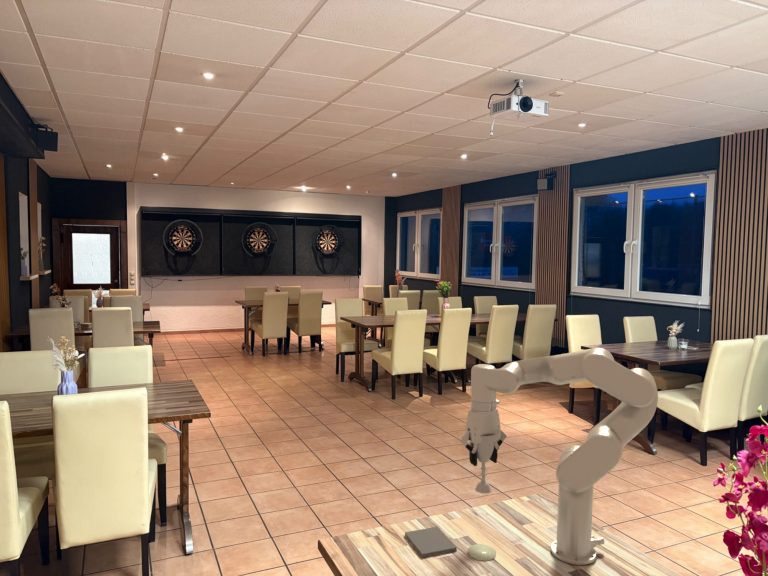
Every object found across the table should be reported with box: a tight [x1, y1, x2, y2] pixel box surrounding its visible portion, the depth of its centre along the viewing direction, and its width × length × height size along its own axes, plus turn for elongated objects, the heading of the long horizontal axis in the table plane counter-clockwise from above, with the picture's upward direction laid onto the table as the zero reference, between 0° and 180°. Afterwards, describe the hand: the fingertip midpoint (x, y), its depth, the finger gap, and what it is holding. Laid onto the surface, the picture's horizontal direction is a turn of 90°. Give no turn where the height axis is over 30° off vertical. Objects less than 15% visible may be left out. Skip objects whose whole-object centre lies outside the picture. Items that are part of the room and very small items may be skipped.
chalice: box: [475, 435, 495, 494], centre depth 174 cm, size 7×7×18 cm
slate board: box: [404, 526, 457, 558], centre depth 170 cm, size 11×13×1 cm
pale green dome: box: [467, 543, 497, 562], centre depth 165 cm, size 8×8×1 cm
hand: (483, 462), depth 174 cm, fingers closed on chalice, 6 cm apart
